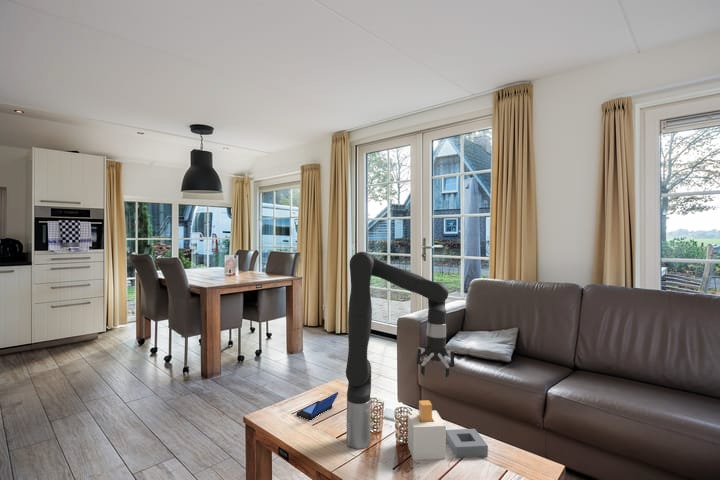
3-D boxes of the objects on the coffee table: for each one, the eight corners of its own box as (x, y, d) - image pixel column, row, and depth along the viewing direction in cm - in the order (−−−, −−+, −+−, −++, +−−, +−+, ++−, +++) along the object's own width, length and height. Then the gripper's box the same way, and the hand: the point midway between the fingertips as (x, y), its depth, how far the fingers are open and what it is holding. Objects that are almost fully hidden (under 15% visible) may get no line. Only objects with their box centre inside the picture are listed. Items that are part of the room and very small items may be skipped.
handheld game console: (318, 403, 178) (318, 384, 178) (339, 410, 170) (339, 391, 170) (295, 416, 165) (295, 395, 165) (316, 424, 157) (316, 403, 157)
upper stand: (413, 460, 132) (413, 427, 132) (406, 441, 144) (406, 411, 144) (445, 458, 133) (445, 425, 133) (435, 440, 145) (436, 410, 145)
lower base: (456, 457, 133) (456, 447, 133) (445, 439, 145) (445, 429, 145) (487, 456, 134) (487, 445, 134) (474, 438, 146) (474, 428, 146)
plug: (421, 429, 136) (421, 405, 136) (418, 423, 140) (418, 400, 140) (431, 428, 137) (432, 404, 137) (429, 423, 141) (429, 400, 141)
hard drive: (370, 412, 166) (395, 419, 160) (379, 405, 173) (403, 411, 167) (370, 415, 166) (395, 422, 160) (379, 408, 173) (403, 414, 167)
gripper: (417, 335, 138) (416, 377, 138) (456, 338, 136) (454, 381, 136) (417, 330, 145) (416, 370, 146) (454, 333, 143) (452, 374, 144)
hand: (434, 375), depth 141 cm, fingers open, 8 cm apart
